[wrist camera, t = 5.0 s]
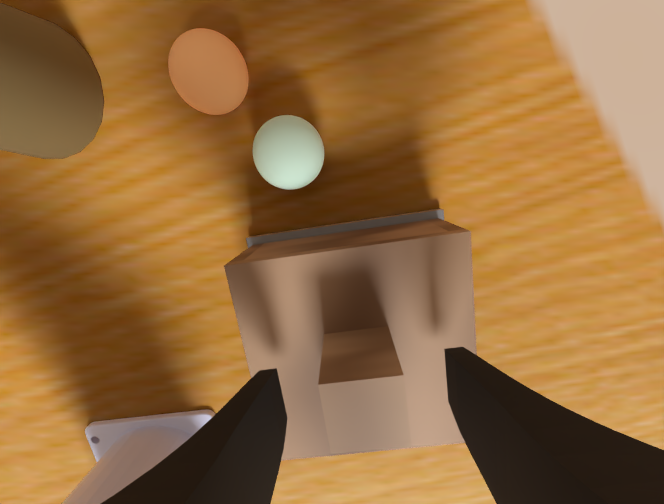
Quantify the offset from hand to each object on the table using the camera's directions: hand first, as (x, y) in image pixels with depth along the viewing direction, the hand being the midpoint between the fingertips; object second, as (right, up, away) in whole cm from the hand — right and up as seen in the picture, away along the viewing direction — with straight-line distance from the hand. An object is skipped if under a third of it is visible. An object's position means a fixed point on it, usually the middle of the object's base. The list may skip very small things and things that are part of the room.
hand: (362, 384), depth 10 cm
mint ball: (-3, +9, +4) cm, 10 cm away
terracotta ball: (-6, +12, +3) cm, 14 cm away
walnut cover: (0, +1, +5) cm, 5 cm away
